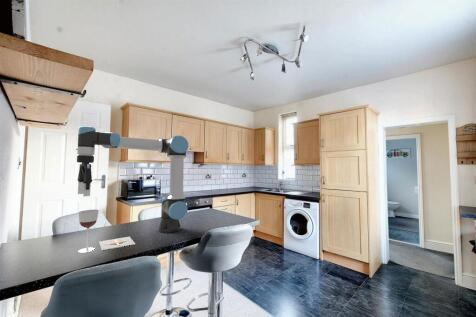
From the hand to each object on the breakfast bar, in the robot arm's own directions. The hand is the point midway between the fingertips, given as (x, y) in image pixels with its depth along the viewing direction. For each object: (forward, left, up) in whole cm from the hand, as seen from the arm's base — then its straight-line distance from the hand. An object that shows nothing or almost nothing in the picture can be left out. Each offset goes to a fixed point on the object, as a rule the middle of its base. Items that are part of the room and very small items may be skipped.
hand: (83, 195), depth 113 cm
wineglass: (-3, +3, -28) cm, 29 cm away
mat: (-17, +1, -28) cm, 33 cm away
